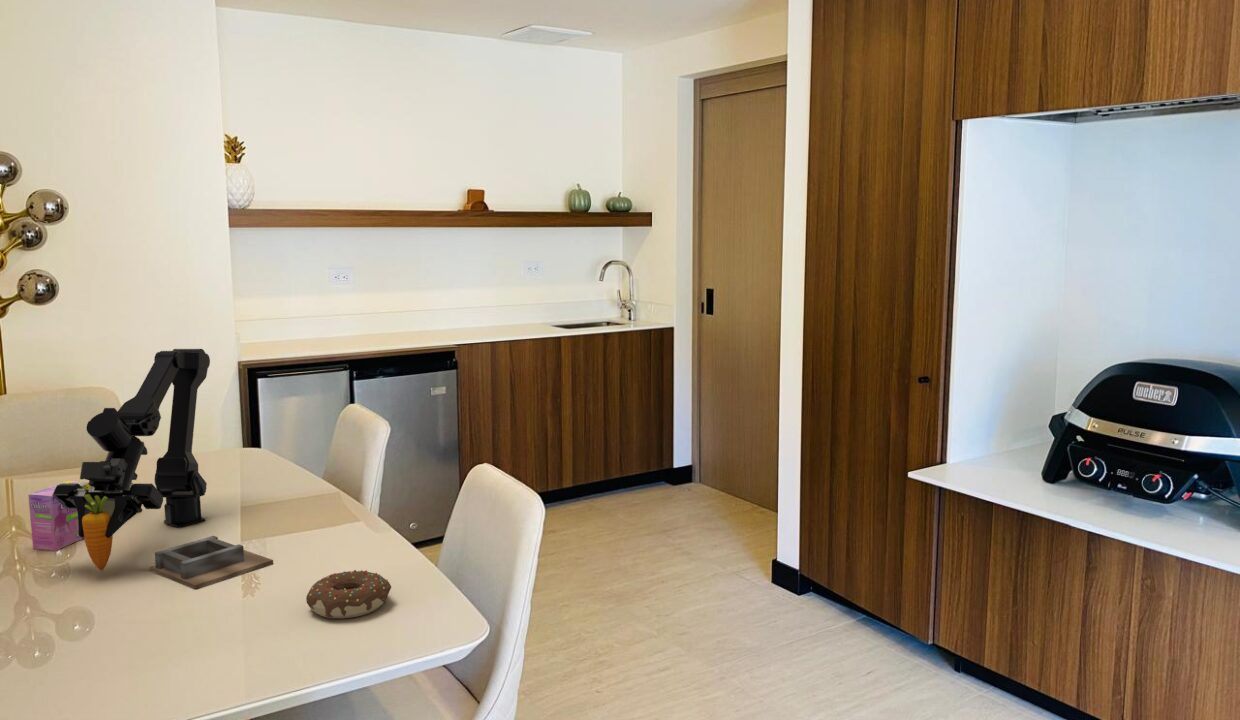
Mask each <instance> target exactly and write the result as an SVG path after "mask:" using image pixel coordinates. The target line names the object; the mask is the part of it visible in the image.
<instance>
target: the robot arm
mask: <svg viewBox="0 0 1240 720" xmlns="http://www.w3.org/2000/svg"><path fill="white" fill-rule="evenodd" d="M210 358H211V357H210V355H209V354H208V353H206V352H205V350H204V349H203V348H174V349H172V350H161V351H157V352H156V353H155V354H154V362H153V363H152V365H151V367H150V369H149V371H148V373H147V374H146V376H145V378H144V379H143V382H142V384H141V385H140V387H139V389H138V391H137V393H136V395H135V396H134V397H132V398H130V399H129V400H127V401H125V402H123V404H122V405H121V406H120V408H119V409H118V410H117V409H116V407H104V408H103V410H102V412H99V413H98V414H96V415H94V416H93V417H92V418H90V420H88V422H87V424H86V432H87V434H88V435H89V436H90V437H91V438H92V439H93V440H94V441H95V443H96V444H97V445H98V446H99V447H100V448H101V449H102V450H103V451H105V452H107V454H106V457H105V460H100V461H83V462H82V463H81V469H80V475H79V479H80V480H86V481H88V484H89V485H90V486H91V487H94V490H87V489H84V488H83V487H81V486H80V485H79V484H78V483H63V482H60V483H61V484H60V483H58V484H59V485H57V484H56V485H57V486H56V488H55V490H54V492H53V495H52V496H53V497H55V498H56V499H57V500H58V501H59V502H60V503H61V504H62V505H63V506H64V507H65V508H68V509H77V512H78V530H79V536H80V537H81V538H83V537H84V533H83V526H82V518H83V517H84V516H85V515H86V514H88V513H90V512H92V511H90V510H88V509H87V508H85V507H84V506H85V505H89V506H90V507H91V505H90V504H89V503H88V501H87V500H86V499H85V495H86V494H89V495H90V496H91V497H92V499H93V500H94V501H96V500H95V497H94V496H99V497H100V500H102V499H103V497H104V496H106V497H108V499H107V500H106V501H115V508H114V511H113V513H112V516H111V519H110V521H109V524H108V526H107V530H106V534H105V536H106V537H107V538H110V537H111V536H112V535H115V533H117V531H119V530H120V528H121V527H122V526H123V525H125V524H126V523H127V522H128V521H129V520H131V519H132V518H133V517H134V516H136V514H138V513H142V512H143V508H142V506H143V507H144V508H145V509H146V510H160V509H161V508H162V505H163V502H164V498H165V504H164V520H163V523H164V524H167V525H170V526H173V527H175V528H182V527H186V526H189V525H194V524H198V523H201V522H204V521H206V517H203V516H202V506H201V497H203V496H205V495H206V493H207V485H208V484H207V482H206V481H205V478H204V477H202V475H201V473H199V463H198V462H197V460H196V458H195V456H194V454H193V442H194V429H195V421H196V420H195V418H196V408H197V396H198V391H199V390H198V389H199V387H201V385H202V384H203V382H204V381H205V380H206V378H207V375H208V370H209V367H210V364H211V359H210ZM171 385H173V394H172V400H171V401H172V403H171V404H172V405H171V413H170V422H169V432H168V433H169V434H168V445H167V451H166V452H165V454H164V455H163V456H162V457H158V458H157V460H156V470H155V473H154V484H153V483H134V484H133V485H131V482H132V483H133V481H137V479H138V474H137V473H136V471H137V468H138V464H139V462H140V460H141V458H142V457H141V456H147V455H148V454H149V453H148V449H147V447H146V445H145V442H144V441H142V440H141V439H140V438H139V437H151V436H153V435H155V433H156V432H157V430H158V429H159V426H160V422H161V419H162V415H161V413H160V408H161V404H162V403H163V400H164V399H165V396H166V395H167V393H168V391H169V389H170V387H171ZM130 485H131V488H130ZM129 488H130V490H129ZM91 508H92V507H91ZM83 539H84V538H83Z"/></svg>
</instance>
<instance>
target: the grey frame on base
mask: <svg viewBox="0 0 1240 720" xmlns="http://www.w3.org/2000/svg"><path fill="white" fill-rule="evenodd" d="M154 558H155V565H151V566H150V567H149V569H150V572H153V573H155V574H157V575H160V576H162V577H165V578H167V579H169V580H172V581H174V582H177V583H178V584H182V585H183V586H186V587H188V588H191V589H194V590H199V589H201V588H204V587H207V586H210V585H214V584H216V583H219V582H223V581H225V580H228V579H232V578H235V577H239V576H240V575H244V574H246V573H250V572H252V571H253V572H254V571H256V570H258V569H263V568H265V567H268V566H270V565H273V564H274V559H271V558H268V557H266V556H263V555H261V554H257V553H254V552H251V551H248V550H246V549H244V545H242V544H236V545H235V544H233V543H230V542H226V541H223V540H221V539H219V537H218V536H216V535H212V536H208V537H204V538H201V539H197V540H194V541H190V542H188V543H187V542H186V543H182V544H180V545H176V546H173V547H169V548H165V549H162V550H159V551H155V552H154Z"/></svg>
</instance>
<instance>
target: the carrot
mask: <svg viewBox="0 0 1240 720" xmlns="http://www.w3.org/2000/svg"><path fill="white" fill-rule="evenodd" d="M94 497H95V500H96V503H97V505H96V504H95V502H94V500H93V499H92V497H91V496H90V495H89V494H86V495H85V499H86V500H87V501H88V503H89V504H90V505H91V507H92V508H91V507H90V506H89V505H85V506H84V507H85V508H87V509H88V510H90V511H92V512H90V513H88V514H86V515H85V516H84V517H83V518H82V526H83V533H84V538H83V539H84V543H85V546H86V549H87V552H88V556H89V558H90V559H91V562H92V563H93V564H94V566H95V568H97V569H98V570H99V571H100V572H102V571H104V569H105V568H106V566H107V564H108V563H109V559H110V557H111V554H112V547H113V538H114V537H113V535H114V534H113V535H112V536H111V537H110V538H107V537H106V536H105V534H106V530H107V526H108V524H109V521H110V519H111V515H110V514H109V513H108V512H106V511H102V508H103V506H104V504H105V502H106V500H107V499H108V497H106V496H104V497H103V499H102V500H100V497H99V496H94Z"/></svg>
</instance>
